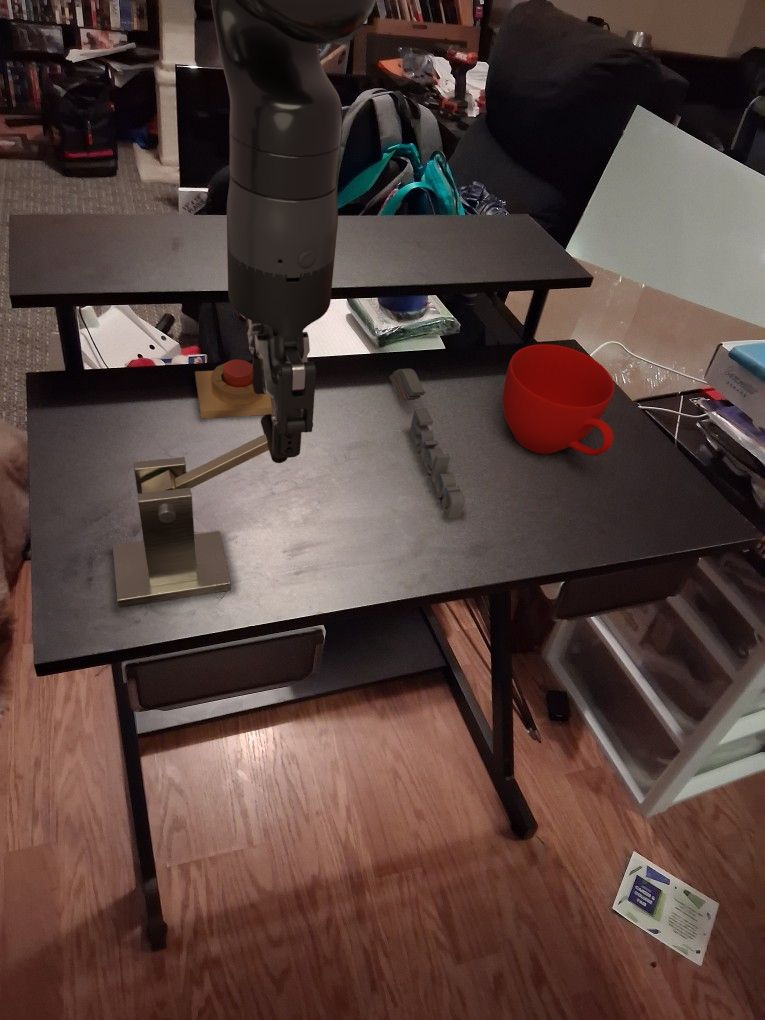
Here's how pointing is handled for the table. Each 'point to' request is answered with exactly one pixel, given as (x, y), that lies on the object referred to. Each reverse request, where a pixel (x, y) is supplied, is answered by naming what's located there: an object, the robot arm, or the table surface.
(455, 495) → the block letters
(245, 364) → the button
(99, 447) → the table surface
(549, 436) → the ceramic cup
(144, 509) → the bracket
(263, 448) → the lever
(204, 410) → the switch block
